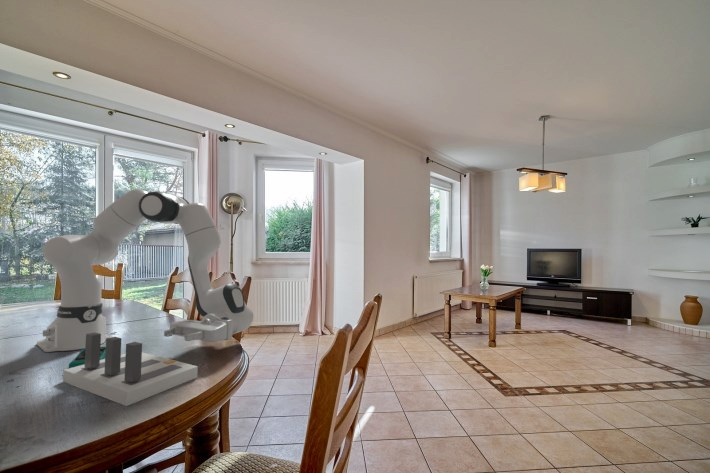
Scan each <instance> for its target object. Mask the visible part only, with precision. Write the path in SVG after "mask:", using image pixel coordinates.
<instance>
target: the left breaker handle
mask: <svg viewBox="0 0 710 473" xmlns="http://www.w3.org/2000/svg"><path fill="white" fill-rule="evenodd" d="M101 345H102V344H101V334H99V333H89V334H86V346H85V348H84V349H85V367H86V368H89V369H92V368H96V367H99V366H100V347H101Z"/></svg>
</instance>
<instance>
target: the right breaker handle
mask: <svg viewBox="0 0 710 473" xmlns="http://www.w3.org/2000/svg"><path fill="white" fill-rule="evenodd" d="M142 352H143V343H141V342H137V341H133V342H128V343H126V344H125V353H126V357H125V380H126V381H129V382H135V381H138V380H141V361H142Z"/></svg>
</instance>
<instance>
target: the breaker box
mask: <svg viewBox="0 0 710 473" xmlns="http://www.w3.org/2000/svg"><path fill="white" fill-rule="evenodd" d="M125 357H126V352H125V353H121V361H120V373H117V374H113V375H109V374H106V373H104V372H105V358H104V359H103V360H100V366H99V367H96V368H92V369H89V368H86V367H85V364H84V365H80V366H76V367H73V368H69V367H68V368H66V369H63V372H62V377H63V378H62V382H63V383H65V384H68V385H71V386H74V387H76V388H78V389H81V390H83V391H86V392H88V393H91V394H94V395H96V396H100V397H103V398H105V399H106V400H110V401H112V402H115V403H118V404H120V405H123V406H125V407H127V406H131V405H133V404H135V403H138V402H140V401H143V400H145V399H147V398H150V397H152V396H155V395H157V394H160V393H162V392H165V391H168V390H169V389H172V388H175V387H178V386H180V385H183V384H185V383H187V382H190V381H192V380H195V379H197V378H198V369H199V368H198V366H197V365H195V364H194V365H192V364H190V363H186V362H182V361H178V360H174V359H170V358H166V357H162V356H158V355H156V354H155V355H154V354H150V353H146V352H143V351H142V361H141V380H138V381H135V382H129V381H126V380H125Z"/></svg>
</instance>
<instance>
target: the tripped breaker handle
mask: <svg viewBox="0 0 710 473" xmlns="http://www.w3.org/2000/svg"><path fill="white" fill-rule="evenodd" d="M105 347H106V350H105V358H104V359H105V372H104V373H106V374H109V375H113V374H117V373H120V361H121V355H122V337H117V336H111V337H110V338H106V341H105Z"/></svg>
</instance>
